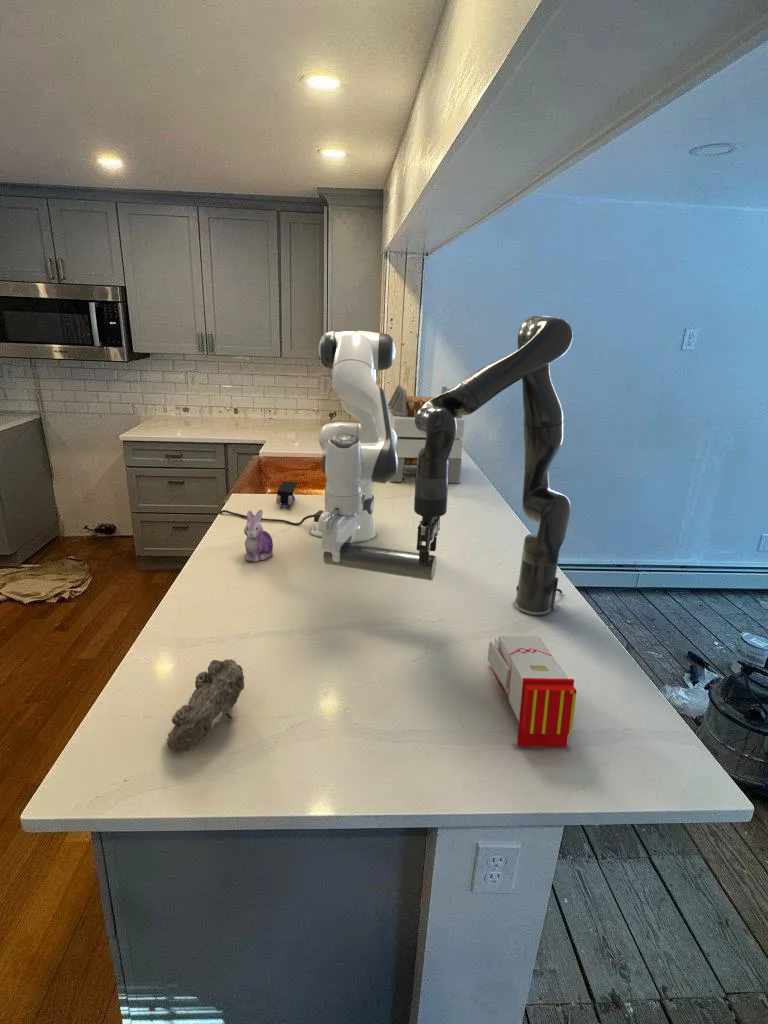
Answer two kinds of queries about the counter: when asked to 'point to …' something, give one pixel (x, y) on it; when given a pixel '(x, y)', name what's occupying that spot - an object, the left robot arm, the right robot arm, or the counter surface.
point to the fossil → (206, 705)
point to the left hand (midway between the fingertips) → (341, 554)
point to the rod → (383, 561)
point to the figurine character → (286, 494)
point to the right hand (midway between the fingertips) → (427, 557)
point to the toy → (534, 690)
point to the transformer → (418, 434)
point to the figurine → (257, 538)
